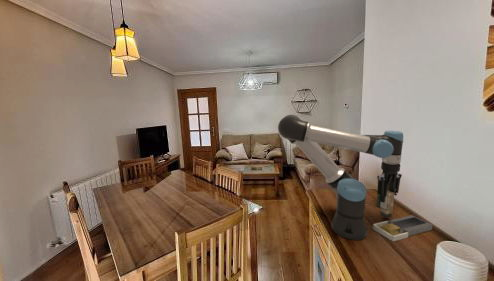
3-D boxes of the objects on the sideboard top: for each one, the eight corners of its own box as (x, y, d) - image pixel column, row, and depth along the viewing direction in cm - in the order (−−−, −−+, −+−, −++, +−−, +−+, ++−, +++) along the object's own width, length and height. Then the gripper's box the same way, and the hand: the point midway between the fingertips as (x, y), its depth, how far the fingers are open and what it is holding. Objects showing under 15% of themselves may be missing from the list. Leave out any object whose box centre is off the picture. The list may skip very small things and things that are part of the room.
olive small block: (394, 235, 90) (395, 229, 90) (386, 230, 94) (387, 224, 94) (399, 234, 91) (400, 228, 91) (391, 229, 95) (392, 223, 95)
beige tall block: (386, 218, 101) (388, 193, 99) (379, 214, 104) (382, 190, 102) (391, 217, 102) (394, 192, 100) (385, 213, 105) (387, 190, 103)
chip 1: (389, 236, 90) (390, 230, 89) (381, 231, 93) (382, 225, 93) (394, 235, 90) (395, 229, 90) (386, 230, 94) (387, 224, 94)
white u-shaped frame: (392, 242, 86) (393, 237, 86) (372, 229, 96) (372, 224, 95) (407, 238, 89) (408, 233, 88) (386, 225, 98) (386, 221, 98)
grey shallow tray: (406, 237, 89) (407, 231, 89) (387, 226, 98) (387, 220, 97) (431, 230, 94) (432, 224, 93) (411, 220, 102) (411, 215, 102)
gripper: (385, 166, 92) (380, 213, 96) (411, 162, 97) (406, 207, 101) (370, 162, 100) (367, 206, 103) (396, 159, 104) (391, 201, 108)
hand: (386, 206), depth 102 cm, fingers closed on beige tall block, 4 cm apart
